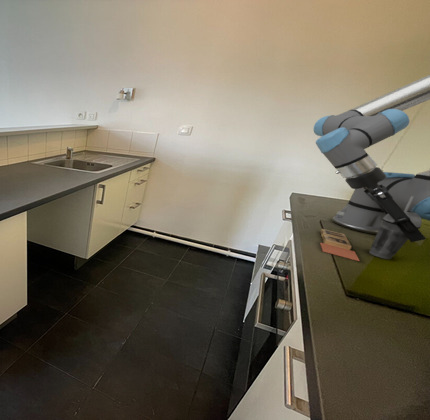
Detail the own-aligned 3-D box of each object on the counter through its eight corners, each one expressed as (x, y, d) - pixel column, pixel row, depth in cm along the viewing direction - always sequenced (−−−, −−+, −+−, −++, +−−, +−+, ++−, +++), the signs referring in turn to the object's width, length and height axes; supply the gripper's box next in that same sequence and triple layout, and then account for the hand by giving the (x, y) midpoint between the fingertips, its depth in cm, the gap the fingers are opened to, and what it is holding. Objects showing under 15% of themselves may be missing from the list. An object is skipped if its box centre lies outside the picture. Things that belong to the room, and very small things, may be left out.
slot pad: (320, 243, 85) (320, 242, 85) (354, 251, 80) (354, 251, 80) (322, 251, 79) (323, 251, 79) (359, 261, 75) (359, 261, 74)
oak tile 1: (319, 232, 94) (321, 228, 93) (342, 237, 90) (344, 233, 89) (321, 237, 89) (323, 233, 89) (345, 243, 86) (348, 239, 85)
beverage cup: (406, 263, 75) (448, 202, 67) (377, 259, 76) (416, 199, 69) (381, 251, 81) (418, 194, 74) (356, 247, 83) (389, 192, 75)
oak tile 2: (322, 238, 89) (324, 234, 88) (346, 244, 85) (348, 240, 84) (324, 244, 84) (326, 239, 84) (349, 250, 81) (352, 246, 80)
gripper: (339, 174, 87) (384, 230, 83) (350, 184, 73) (405, 252, 69) (369, 162, 82) (419, 221, 78) (388, 170, 67) (450, 242, 64)
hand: (413, 235), depth 73 cm, fingers closed on beverage cup, 7 cm apart
